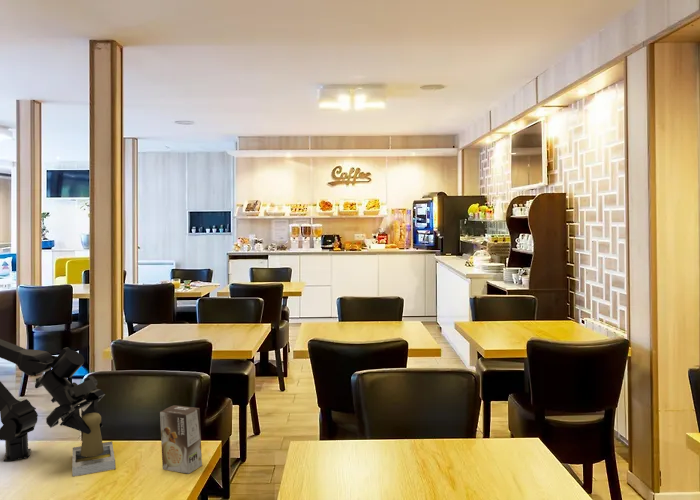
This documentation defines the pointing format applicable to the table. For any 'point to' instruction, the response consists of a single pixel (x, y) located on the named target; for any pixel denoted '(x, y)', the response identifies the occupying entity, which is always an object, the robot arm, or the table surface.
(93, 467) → the silver metal frame
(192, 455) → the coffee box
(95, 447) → the cork
